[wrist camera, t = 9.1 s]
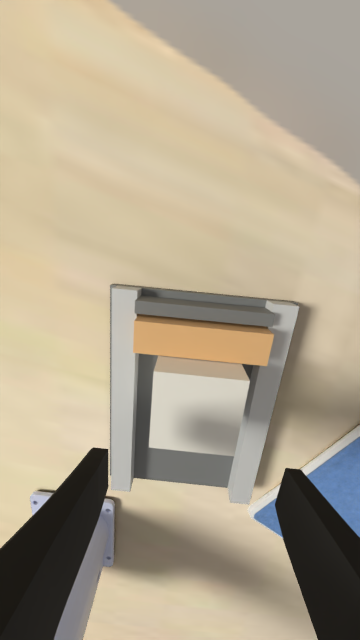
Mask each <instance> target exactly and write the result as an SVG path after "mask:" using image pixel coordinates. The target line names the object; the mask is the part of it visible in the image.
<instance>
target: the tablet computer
mask: <svg viewBox="0 0 360 640" xmlns="http://www.w3.org/2000/svg"><path fill="white" fill-rule="evenodd" d="M300 470H302V472H303V473H304V474H305V475H306V476H307V477H308V478H309V480H310V481H311V482H312V483H313V484H314V485H315V487H316V488H317V489H318V490H319V491H320V493H321V494H322V495H323V496H324V497H325V498H326V500H327V501H328V502H329V503H330V504H331V505H332V507H333V508H334V509H335V510H336V511H337V512H338V514H339V515H340V516H341V517H342V518H343V519H344V520H345V522H346V523H347V524H348V525H349V526H350V527H351V528H352V530H353V531H354V532H355V533H356V534H357V535H358V536H359V537H360V425H358V426H357V427H356V428H354V429H353V430H352V431H350V432H349V433H348V434H346V435H345V436H344V437H342V438H341V439H340V440H338V441H337V442H336V443H334V444H333V445H332V446H330V447H329V448H328V449H326V450H325V451H324V452H322V453H321V454H320V455H318V456H317V457H316V458H314V459H313V460H312V461H310V462H309V463H308V464H306V465H305V466H304V467H302V468H301V469H300ZM280 485H281V483H280V484H279V485H278V486H276V487H275V488H273V489H272V490H271V491H269V492H268V493H266V494H265V495H264V496H262V497H261V498H259V499H258V500H257V501H255V502H254V503H252V504H251V505H250V506H249V507H248V513H249V515H250V517H251V518H252V519H253V520H255V521H256V522H258V523H259V524H261V525H262V526H264V527H266V528H267V529H269V530H270V531H272V532H273V533H275V534H276V535H278V536H279V537H281V538H282V539H283V536H282V533H281V529H280V525H279V521H278V517H277V513H276V508H275V502H276V498H277V495H278V492H279V488H280Z"/></svg>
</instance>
